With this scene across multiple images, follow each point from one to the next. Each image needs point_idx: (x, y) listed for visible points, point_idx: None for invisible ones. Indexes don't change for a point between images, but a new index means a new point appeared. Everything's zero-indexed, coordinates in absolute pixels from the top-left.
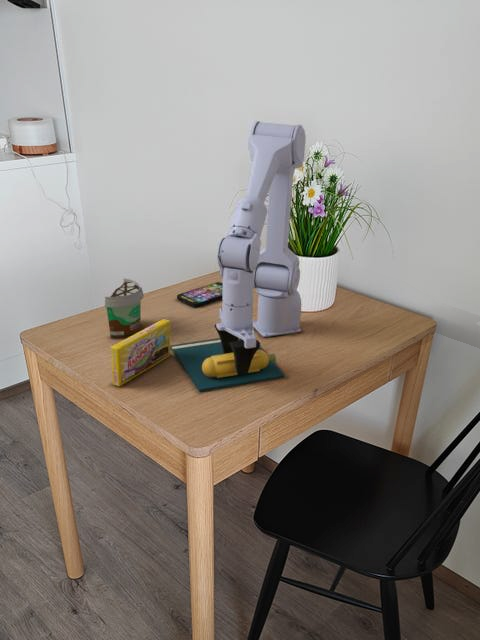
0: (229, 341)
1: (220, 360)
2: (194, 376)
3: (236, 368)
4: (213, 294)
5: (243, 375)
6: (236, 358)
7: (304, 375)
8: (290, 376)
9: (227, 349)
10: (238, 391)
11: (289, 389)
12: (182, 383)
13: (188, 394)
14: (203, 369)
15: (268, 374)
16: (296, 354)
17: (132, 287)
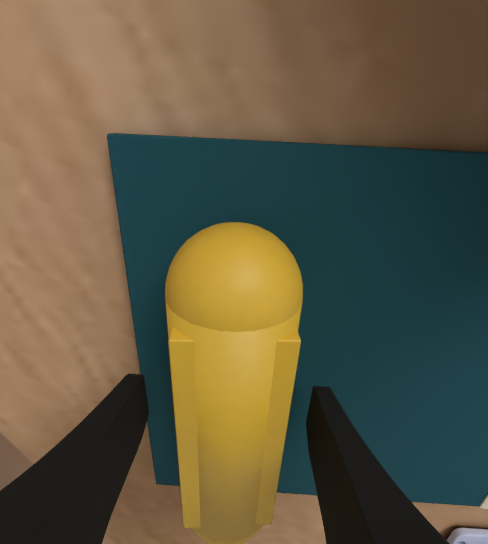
0: (339, 519)
1: (186, 366)
2: (275, 166)
3: (111, 398)
4: None
5: None
6: (21, 476)
7: (157, 511)
8: (162, 485)
9: (325, 447)
10: (90, 316)
11: None
12: (254, 61)
13: (101, 47)
14: (218, 227)
15: (173, 451)
16: (292, 540)
17: None
